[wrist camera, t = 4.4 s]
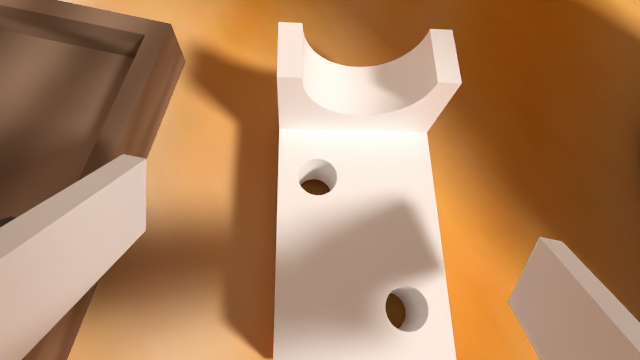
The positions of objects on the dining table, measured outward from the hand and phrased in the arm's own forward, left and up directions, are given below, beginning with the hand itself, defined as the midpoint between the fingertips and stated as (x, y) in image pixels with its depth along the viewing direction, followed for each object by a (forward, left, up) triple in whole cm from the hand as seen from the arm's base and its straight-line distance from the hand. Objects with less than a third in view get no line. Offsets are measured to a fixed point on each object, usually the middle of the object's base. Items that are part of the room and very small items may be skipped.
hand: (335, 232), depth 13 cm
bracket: (-1, -2, -7) cm, 8 cm away
